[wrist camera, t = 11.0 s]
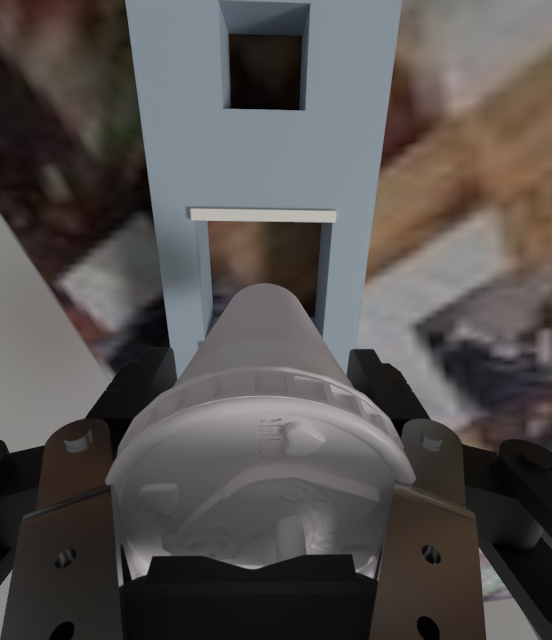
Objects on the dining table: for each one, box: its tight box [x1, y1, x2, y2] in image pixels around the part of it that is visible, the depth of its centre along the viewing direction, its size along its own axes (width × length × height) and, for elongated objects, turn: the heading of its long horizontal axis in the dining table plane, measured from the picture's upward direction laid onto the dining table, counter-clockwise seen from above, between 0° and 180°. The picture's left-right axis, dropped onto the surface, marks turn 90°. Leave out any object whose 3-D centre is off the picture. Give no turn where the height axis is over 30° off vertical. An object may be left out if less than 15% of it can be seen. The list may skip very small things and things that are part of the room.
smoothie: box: [105, 283, 416, 578], centre depth 9 cm, size 6×6×14 cm
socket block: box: [125, 0, 402, 380], centre depth 20 cm, size 12×24×4 cm, turn 179°
